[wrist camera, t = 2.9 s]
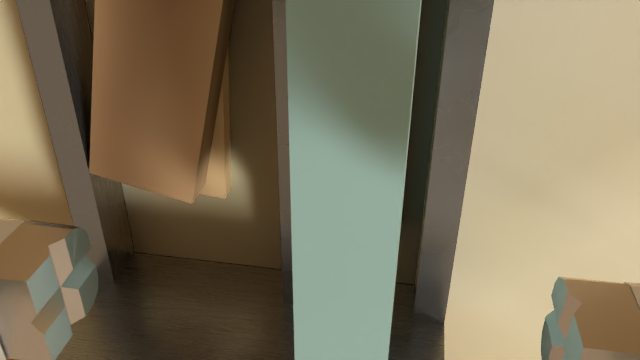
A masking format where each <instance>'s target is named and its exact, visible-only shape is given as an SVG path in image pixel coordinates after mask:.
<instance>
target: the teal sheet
mask: <svg viewBox="0 0 640 360" xmlns="http://www.w3.org/2000/svg"><path fill="white" fill-rule="evenodd" d="M421 4H422V0H286V36H287V76H288V115H289V155H290V195H291V235H292V274H293V314H294V354H295V360H388V354H389V344H390V334H391V323H392V313H393V303H394V293H395V282H396V272H397V262H398V252H399V241H400V231H401V221H402V210H403V199H404V188H405V177H406V167H407V156H408V145H409V134H410V123H411V113H412V102H413V91H414V80H415V69H416V58H417V48H418V37H419V26H420V15H421Z"/></svg>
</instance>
